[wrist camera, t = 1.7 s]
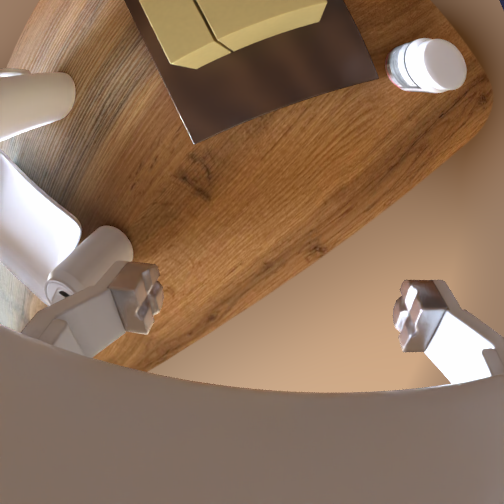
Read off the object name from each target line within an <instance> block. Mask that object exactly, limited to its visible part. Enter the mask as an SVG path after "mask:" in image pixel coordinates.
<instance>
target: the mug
mask: <svg viewBox="0 0 504 504" xmlns="http://www.w3.org/2000/svg"><path fill="white" fill-rule="evenodd" d="M0 76H8V77H2V78H0V141H3V140H5V139H8V138H10V137H13V136H15V135H18V134H20V133H23V132H26V131H28V130H31V129H34V128H37V127H40V126H43V125H46V124H49V123H52V122H55V121H58V120H61V119H63V118H64V117H65V116H67V115H68V113H69V112H70V111H71V109H72V107H73V104H74V101H75V94H76V90H75V84H74V81H73V79H72V78H71V77H70V76H69V75H68V74H66V73H63V72H53V73H37V74H31V73H30V71H29V70H24V69H16V68H0Z"/></svg>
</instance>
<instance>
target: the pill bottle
mask: <svg viewBox="0 0 504 504" xmlns="http://www.w3.org/2000/svg"><path fill="white" fill-rule="evenodd" d="M385 69H386V72H387V75H388V77H389V79H390V80H391V81H392V82H393V83H394V84H395V85H396V86H397V87H399V88H400V89H402V90H405V91H410V92H428V93H442V92H445V91H447V90H454V89H457V88H459V87H460V86H462V84H463V83H464V81H465V78H466V73H467V69H466V64H465V60H464V58H463V56H462V54H461V53H460V51H459V50H458V49H457V48H456V47H455V46H454V45H453V44H452V43H450V42H448V41H446V40H443V39H430V38H420V39H417V40H414V41H411V42H409V43H406V44H403V45H401V46H398V47H395V48H393V49H392V50H391V51H390V52H389V53H388V55H387V57H386V60H385Z"/></svg>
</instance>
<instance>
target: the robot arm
mask: <svg viewBox="0 0 504 504" xmlns="http://www.w3.org/2000/svg"><path fill="white" fill-rule="evenodd" d="M159 276H160V273H159V269H158V266H156V265H155V264H149V263H140V262H129V261H115V262H114V263H113V265H112V266H111V267H110V268H109V269H108V270H107V271H106V273H105V274H104V275H103V276H102V277H101V278H100V280H99V281H98V282H97V283H96V284H95V286H89V287H87V288H85V289H83V290H81V291H79V292H77V293H74V294H72V295H70V296H68V297H66V298H64V299H62V300H60V301H58V302H56V303H54V304H52V305H50V306H48V307H46V308H44V309H42V310H40V311H38V312H37V313H36V315H35V316H34V317H33V318H32V319H31V321H30V322H29V323H28V324H27V326H26V327H25V328H24V329H23V330H22V332H21V333H20V332H18V331H15V330H13V329H11V328H8V327H6V326H4V325H2V324H0V504H504V337H502V336H501V335H499V334H498V333H497V332H495V331H494V330H492V329H491V328H490V327H489V326H487V325H486V324H485V323H483V322H482V321H481V320H479V319H478V318H476V317H475V316H474V315H472V314H471V313H469V312H468V311H467V310H462V309H461V307H460V305H459V304H458V302H457V300H456V299H455V297H454V295H453V294H452V292H451V290H450V289H449V287H448V286H447V284H446V283H445V281H443V280H404V282H403V283H402V286H401V288H400V291H401V294H402V296H401V297H400V298H399V299H398V300H396V303H395V306H394V311H393V321H394V325H395V328H396V329H397V330H399V331H400V332H401V333H400V335H399V341H400V344H401V347H402V350H403V352H424V353H425V354H426V355H427V356H428V357H429V358H430V359H431V360H432V362H433V363H434V364H435V365H436V366H437V367H438V368H439V369H440V370H441V371H442V373H443V374H444V375H445V376H446V377H447V378H448V380H449V381H450V382H451V383H452V384H448V385H440V386H433V387H425V388H416V389H406V390H394V391H378V392H354V393H315V392H314V393H313V392H288V391H272V390H260V389H249V388H239V387H231V386H223V385H215V384H208V383H202V382H195V381H189V380H183V379H178V378H172V377H167V376H162V375H157V374H153V373H148V372H144V371H139V370H135V369H131V368H127V367H123V366H119V365H115V364H111V363H108V362H104V361H101V360H97V359H94V358H93V357H94V356H95V355H96V354H98V353H99V352H100V351H102V350H103V349H104V348H106V347H107V346H108V345H110V344H111V343H112V342H114V341H115V340H116V339H118V338H119V337H120V336H122V335H123V334H124V333H126V332H125V331H127V332H133V333H140V334H146V335H147V334H148V333H149V331H150V329H151V327H152V325H153V323H154V317H153V316H154V315H155V314H157V313H159V312H160V310H161V308H162V304H163V299H164V292H163V287H162V285H161V284H160V283H159V282H158V281H157V279H158V278H159Z"/></svg>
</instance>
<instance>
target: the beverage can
mask: <svg viewBox="0 0 504 504" xmlns="http://www.w3.org/2000/svg"><path fill="white" fill-rule="evenodd" d="M132 259H133V249H132V245H131V243H130V241H129V239H128V238H127V237H126V235H125V234H124V233H123V232H121V231H120V230H119V229H117V228H115V227H112V226H101V227H99V228H98V229H96V230H95V231H94V232H93V233H92V234H91V235H90V236H89V237H87V238H86V239H85V240H84V241H83V242H82V243H81V244H80V245H79V246H77V247H76V248H75V249H74V250H73V251H72V252H71V253H70V254H69V255H68V256H67V257H66V258H65V259H64V260H63V261H62V262H61V263H60V264H58V265H57V266H56V267H55V268H54V269H53V270H52V271H51V272H50V274H49V277H48V280H47V282H46V283H45V285H44V292H45V295H46V298H47V300H48V302H49V303H50V305H52V304H54V303H56V302H58V301H60V300H62V299H64V298H66V297H68V296H70V295H72V294H74V293H77V292H79V291H81V290H83V289H85V288H87V287H89V286H95V284H96V283H97V282H98V281H99V280H100V278H101V277H102V276H103V275H104V274H105V273H106V271H107V270H108V269H109V268H110V267H111V266H112V265H113V263H114V262H115V261H129V262H132Z"/></svg>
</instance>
